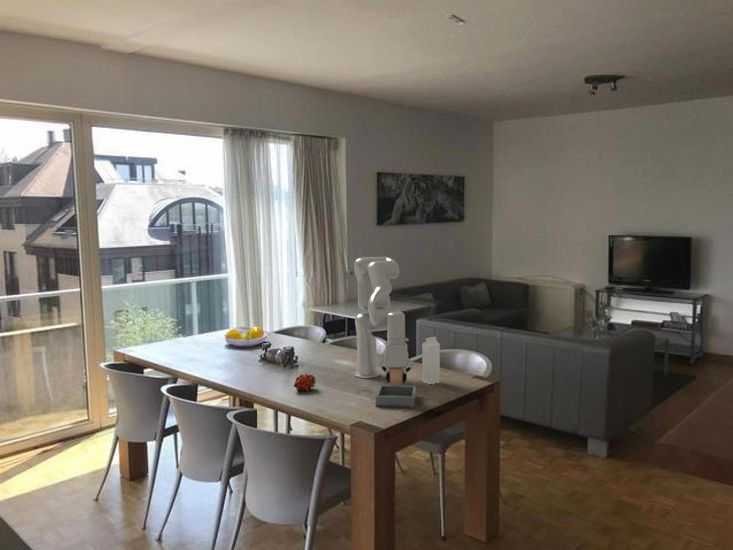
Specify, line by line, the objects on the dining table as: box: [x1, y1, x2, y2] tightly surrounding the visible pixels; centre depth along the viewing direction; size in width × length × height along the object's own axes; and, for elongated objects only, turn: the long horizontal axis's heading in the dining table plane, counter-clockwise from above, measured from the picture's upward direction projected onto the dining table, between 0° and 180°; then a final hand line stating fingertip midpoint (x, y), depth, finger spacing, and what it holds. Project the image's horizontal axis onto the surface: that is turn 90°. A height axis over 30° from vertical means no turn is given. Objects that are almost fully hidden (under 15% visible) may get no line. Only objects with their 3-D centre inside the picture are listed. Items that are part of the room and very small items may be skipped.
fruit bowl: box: [223, 326, 268, 348], centre depth 363 cm, size 28×27×11 cm
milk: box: [421, 336, 441, 385], centre depth 282 cm, size 6×6×22 cm
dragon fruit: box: [293, 372, 316, 392], centre depth 272 cm, size 8×8×12 cm
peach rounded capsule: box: [388, 367, 404, 386], centre depth 255 cm, size 6×6×7 cm
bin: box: [375, 384, 417, 408], centre depth 256 cm, size 16×16×4 cm
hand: (396, 381), depth 255 cm, fingers closed on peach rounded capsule, 6 cm apart
